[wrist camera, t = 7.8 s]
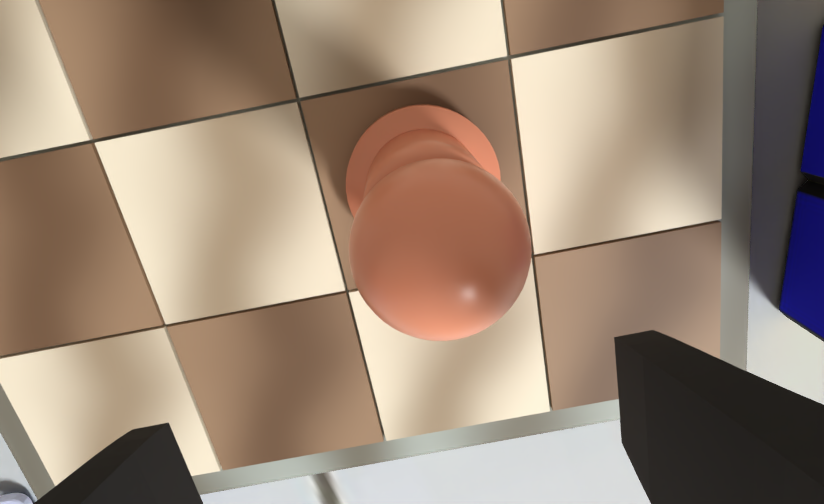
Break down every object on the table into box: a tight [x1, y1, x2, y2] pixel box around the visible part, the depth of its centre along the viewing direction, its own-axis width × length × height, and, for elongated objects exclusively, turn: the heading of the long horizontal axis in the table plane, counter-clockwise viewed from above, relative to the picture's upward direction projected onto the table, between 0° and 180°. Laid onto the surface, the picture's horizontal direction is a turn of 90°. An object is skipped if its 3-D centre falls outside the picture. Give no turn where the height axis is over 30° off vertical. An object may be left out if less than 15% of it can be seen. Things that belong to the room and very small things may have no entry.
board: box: [0, 0, 758, 500], centre depth 17 cm, size 26×20×1 cm
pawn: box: [346, 104, 532, 341], centre depth 12 cm, size 4×4×8 cm
